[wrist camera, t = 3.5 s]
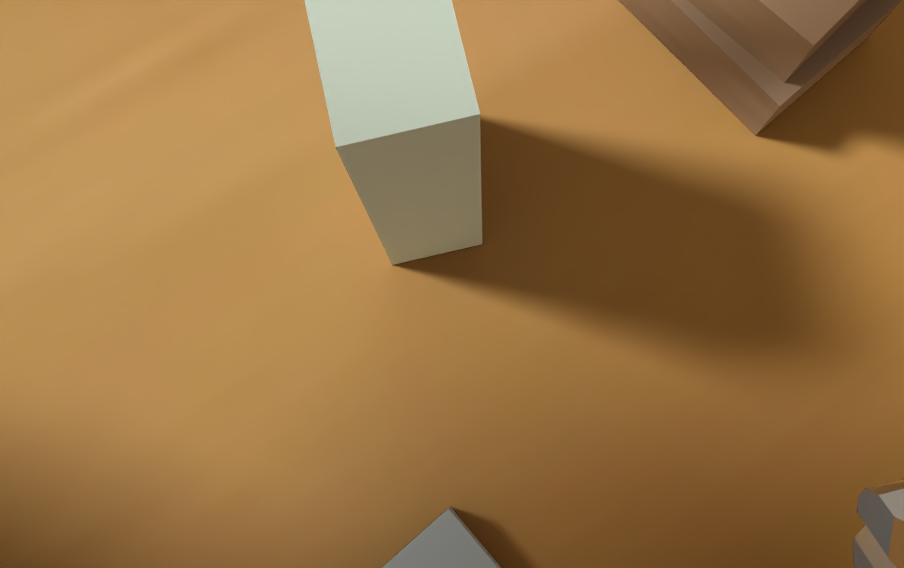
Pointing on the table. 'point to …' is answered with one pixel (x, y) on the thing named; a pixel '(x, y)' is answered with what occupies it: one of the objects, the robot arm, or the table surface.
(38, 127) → the table surface
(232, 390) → the table surface
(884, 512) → the robot arm
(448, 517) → the slate mat
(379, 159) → the tall block
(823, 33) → the offcut stack
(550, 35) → the table surface
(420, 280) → the table surface
